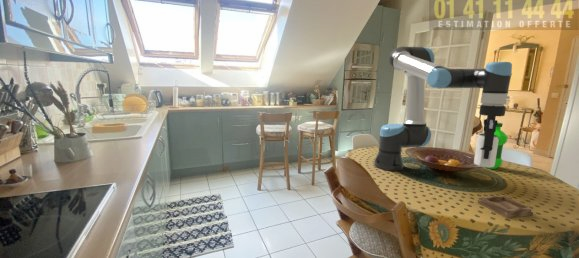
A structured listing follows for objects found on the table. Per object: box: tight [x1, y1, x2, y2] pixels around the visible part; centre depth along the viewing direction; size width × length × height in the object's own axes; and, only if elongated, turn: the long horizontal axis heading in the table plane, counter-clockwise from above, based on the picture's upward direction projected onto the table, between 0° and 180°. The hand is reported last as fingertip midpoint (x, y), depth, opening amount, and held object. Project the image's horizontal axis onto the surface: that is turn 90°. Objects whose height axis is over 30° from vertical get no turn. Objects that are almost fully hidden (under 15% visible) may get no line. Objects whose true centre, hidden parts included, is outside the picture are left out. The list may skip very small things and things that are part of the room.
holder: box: [477, 195, 534, 219], centre depth 97 cm, size 12×12×2 cm
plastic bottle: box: [488, 122, 508, 170], centre depth 139 cm, size 10×10×25 cm
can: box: [473, 133, 498, 169], centre depth 98 cm, size 6×6×12 cm
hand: (484, 164), depth 99 cm, fingers closed on can, 6 cm apart
